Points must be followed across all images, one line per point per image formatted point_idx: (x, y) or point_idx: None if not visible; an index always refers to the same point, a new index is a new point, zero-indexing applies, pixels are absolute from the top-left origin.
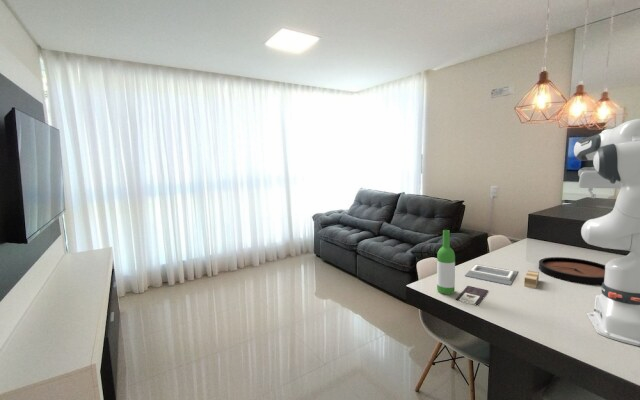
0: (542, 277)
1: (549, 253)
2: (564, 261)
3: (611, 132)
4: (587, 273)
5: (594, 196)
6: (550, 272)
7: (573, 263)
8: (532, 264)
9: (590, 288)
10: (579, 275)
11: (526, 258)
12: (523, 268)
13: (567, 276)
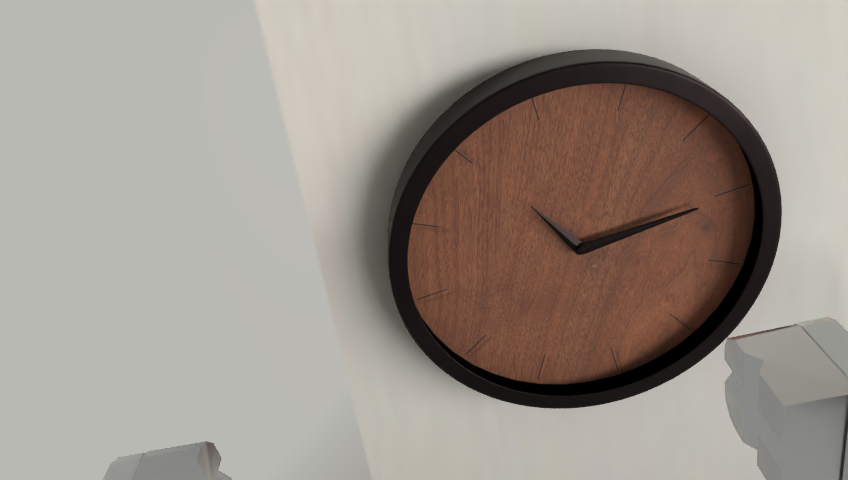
0: (718, 5)
1: (734, 474)
2: (650, 363)
3: None
4: (517, 237)
5: (779, 356)
6: (691, 75)
7: (606, 360)
8: (799, 221)
9: (461, 18)
10: (538, 91)
11: (841, 309)
12: (843, 99)
13: (594, 57)
